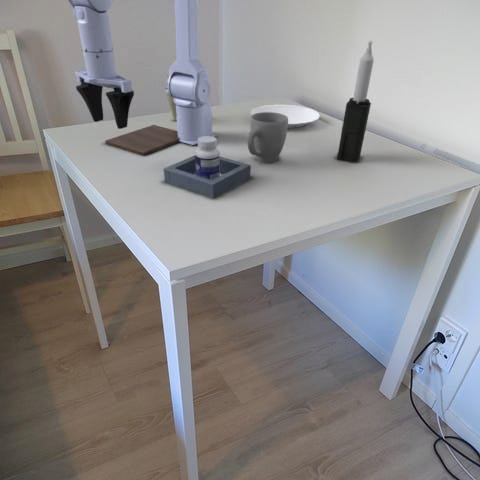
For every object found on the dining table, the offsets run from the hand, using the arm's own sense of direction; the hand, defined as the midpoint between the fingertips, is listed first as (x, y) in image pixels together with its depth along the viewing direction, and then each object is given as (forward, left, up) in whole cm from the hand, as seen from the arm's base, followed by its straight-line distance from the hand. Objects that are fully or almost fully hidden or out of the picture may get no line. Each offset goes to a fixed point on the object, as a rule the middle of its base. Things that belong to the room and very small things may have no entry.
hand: (110, 124), depth 91 cm
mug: (-26, +23, -10) cm, 36 cm away
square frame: (-8, +20, -10) cm, 24 cm away
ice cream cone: (-37, -16, -10) cm, 42 cm away
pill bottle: (-8, +20, -10) cm, 24 cm away
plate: (-58, +10, -10) cm, 60 cm away
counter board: (-19, -9, -10) cm, 24 cm away
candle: (-41, +39, -10) cm, 58 cm away
